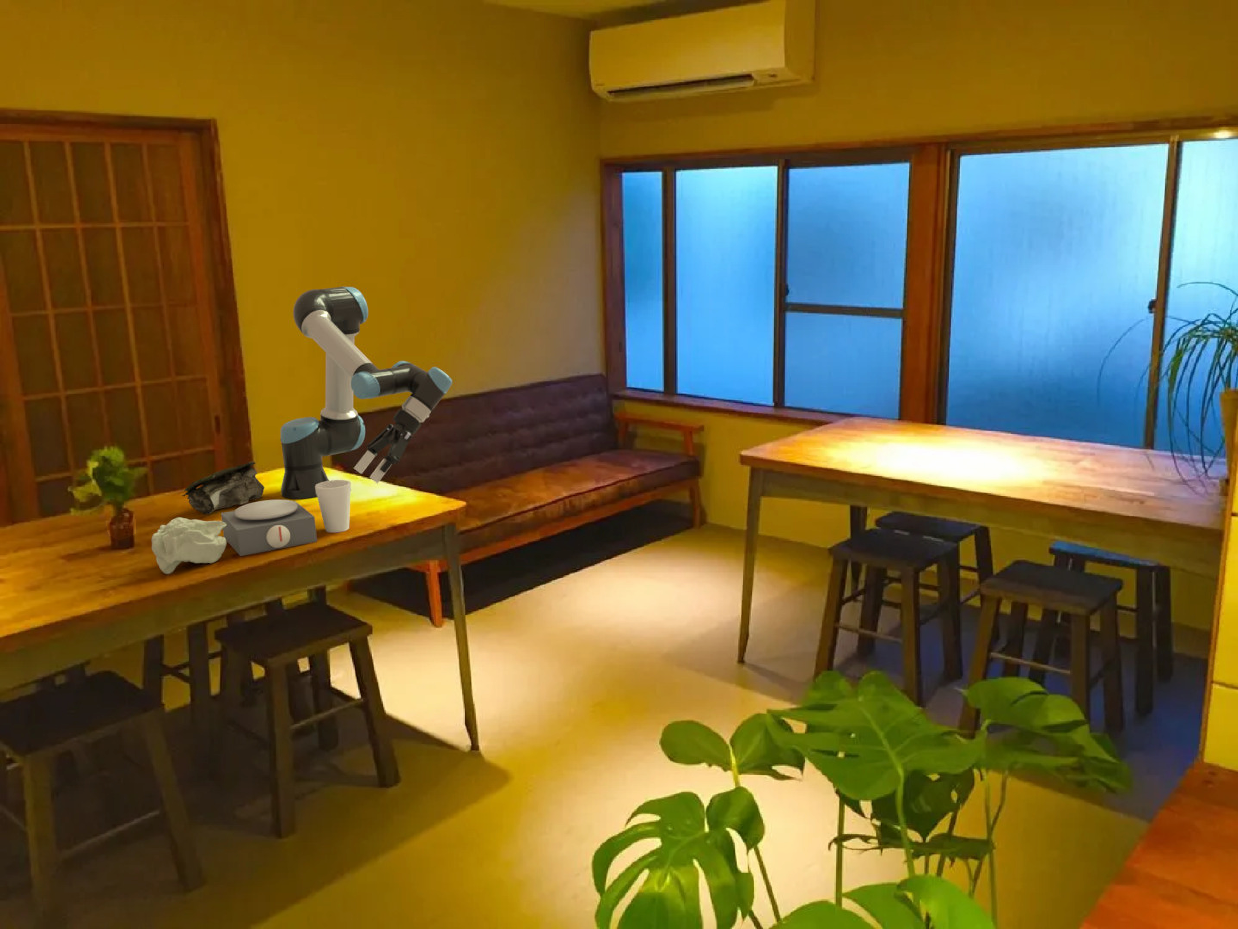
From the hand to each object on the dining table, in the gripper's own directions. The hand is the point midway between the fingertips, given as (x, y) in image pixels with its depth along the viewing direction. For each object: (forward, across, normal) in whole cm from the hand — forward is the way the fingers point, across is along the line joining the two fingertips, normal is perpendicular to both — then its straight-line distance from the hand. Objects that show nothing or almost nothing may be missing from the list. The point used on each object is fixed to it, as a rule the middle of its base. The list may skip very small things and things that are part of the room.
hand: (365, 475), depth 289 cm
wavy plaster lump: (+45, -6, +25) cm, 51 cm away
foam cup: (+16, +1, -4) cm, 17 cm away
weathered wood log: (+31, +47, +11) cm, 57 cm away
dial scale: (+29, +3, +9) cm, 31 cm away
